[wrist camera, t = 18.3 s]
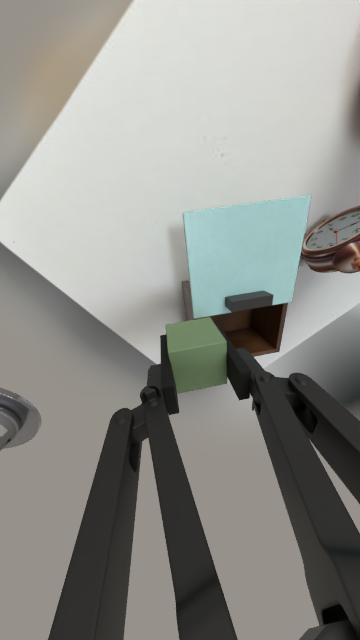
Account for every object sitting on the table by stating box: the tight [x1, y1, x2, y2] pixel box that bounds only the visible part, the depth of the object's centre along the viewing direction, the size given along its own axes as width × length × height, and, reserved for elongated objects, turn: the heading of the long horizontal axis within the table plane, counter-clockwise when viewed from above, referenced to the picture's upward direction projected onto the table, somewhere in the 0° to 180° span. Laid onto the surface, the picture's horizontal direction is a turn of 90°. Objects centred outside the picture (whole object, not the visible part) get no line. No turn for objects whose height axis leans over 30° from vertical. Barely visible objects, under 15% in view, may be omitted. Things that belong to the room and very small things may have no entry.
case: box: [182, 281, 288, 357], centre depth 32 cm, size 16×14×10 cm
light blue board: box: [183, 195, 312, 319], centre depth 22 cm, size 16×14×3 cm
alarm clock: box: [301, 206, 360, 273], centre depth 26 cm, size 11×5×15 cm, turn 136°
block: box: [166, 317, 227, 393], centre depth 15 cm, size 4×4×4 cm
